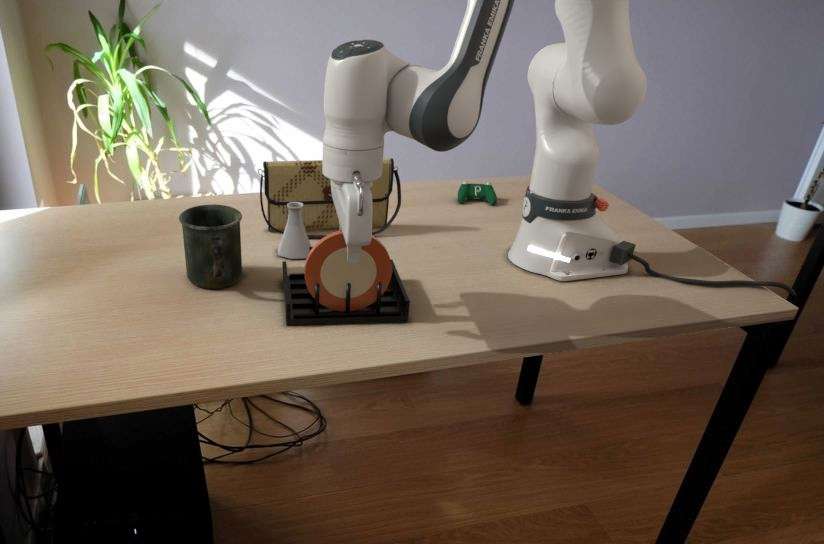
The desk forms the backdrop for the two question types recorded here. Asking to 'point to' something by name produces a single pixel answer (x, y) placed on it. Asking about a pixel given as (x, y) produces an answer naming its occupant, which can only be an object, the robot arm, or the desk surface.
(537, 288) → the desk surface
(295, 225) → the flask
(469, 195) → the gaming controller
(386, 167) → the clutch purse
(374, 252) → the plate
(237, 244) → the mug
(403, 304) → the rack
